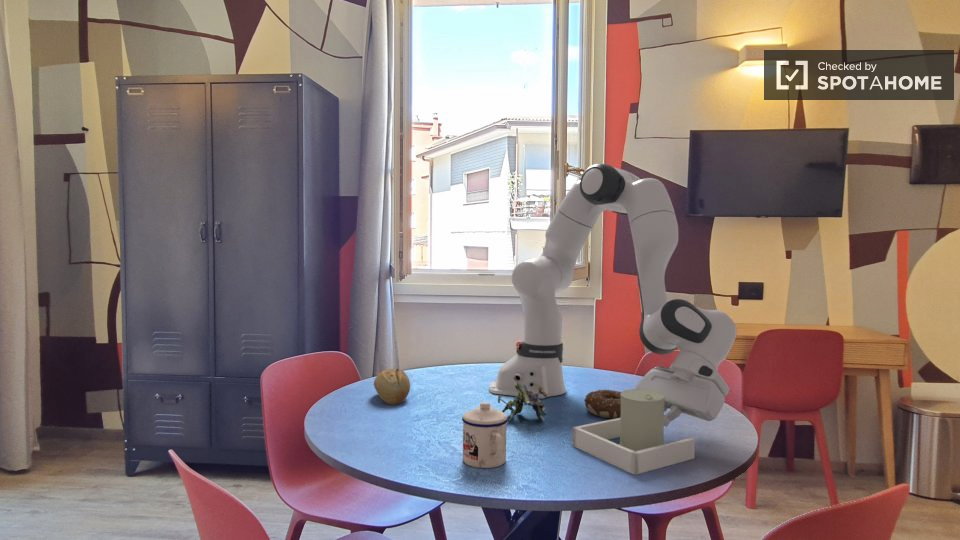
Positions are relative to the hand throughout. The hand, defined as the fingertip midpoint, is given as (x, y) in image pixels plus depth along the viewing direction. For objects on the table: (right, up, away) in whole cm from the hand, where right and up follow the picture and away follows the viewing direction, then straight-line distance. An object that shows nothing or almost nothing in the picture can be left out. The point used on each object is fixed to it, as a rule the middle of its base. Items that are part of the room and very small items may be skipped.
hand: (659, 423), depth 126 cm
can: (-4, -5, -2) cm, 7 cm away
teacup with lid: (-37, -5, -11) cm, 39 cm away
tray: (-7, -5, -4) cm, 9 cm away
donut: (-5, -4, +24) cm, 25 cm away
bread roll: (-63, -2, +34) cm, 72 cm away
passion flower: (-28, -4, +16) cm, 33 cm away
